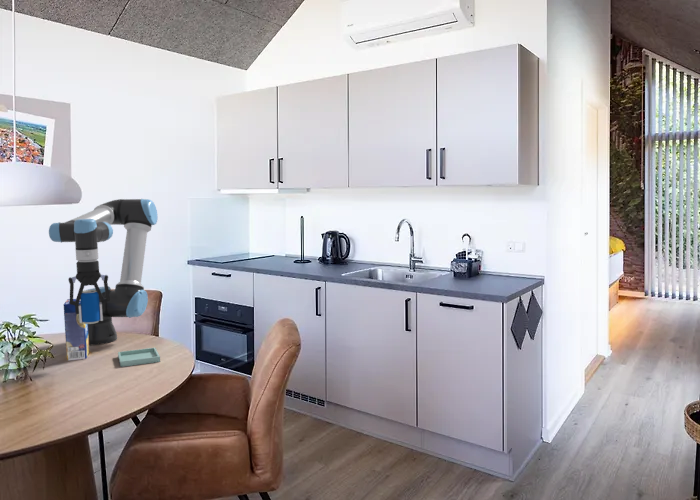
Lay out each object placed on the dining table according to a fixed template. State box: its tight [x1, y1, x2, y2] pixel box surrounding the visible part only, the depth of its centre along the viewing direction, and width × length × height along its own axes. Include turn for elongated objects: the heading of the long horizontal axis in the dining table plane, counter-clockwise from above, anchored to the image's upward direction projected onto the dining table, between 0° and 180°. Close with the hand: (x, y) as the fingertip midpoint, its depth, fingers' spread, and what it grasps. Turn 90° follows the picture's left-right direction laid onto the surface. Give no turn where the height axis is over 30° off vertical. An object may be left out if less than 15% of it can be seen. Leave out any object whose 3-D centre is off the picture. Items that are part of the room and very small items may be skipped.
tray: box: [117, 347, 161, 368], centre depth 217 cm, size 14×14×2 cm
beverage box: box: [63, 298, 90, 361], centre depth 221 cm, size 7×11×22 cm, turn 19°
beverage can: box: [80, 289, 101, 324], centre depth 210 cm, size 6×6×12 cm
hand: (91, 321), depth 211 cm, fingers closed on beverage can, 6 cm apart
